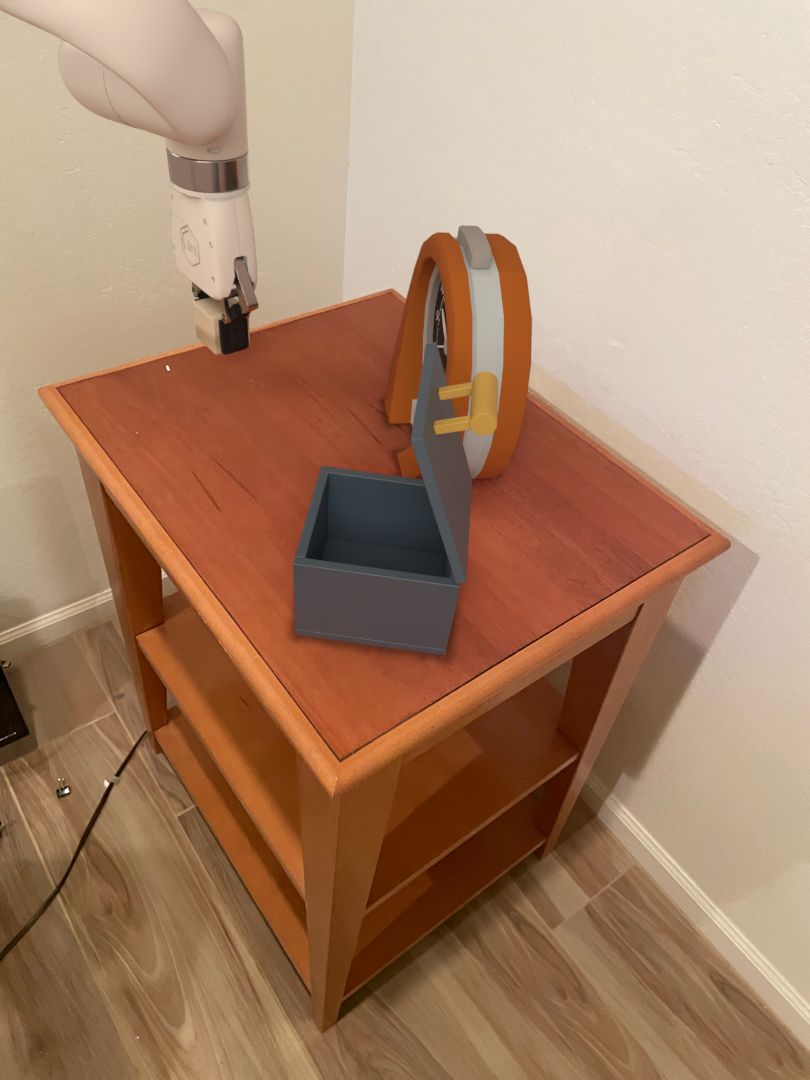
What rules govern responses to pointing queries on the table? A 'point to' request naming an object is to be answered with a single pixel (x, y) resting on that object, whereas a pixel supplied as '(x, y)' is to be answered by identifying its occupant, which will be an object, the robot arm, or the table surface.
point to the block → (210, 322)
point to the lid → (450, 449)
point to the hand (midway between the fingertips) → (223, 338)
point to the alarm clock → (466, 338)
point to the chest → (373, 564)
